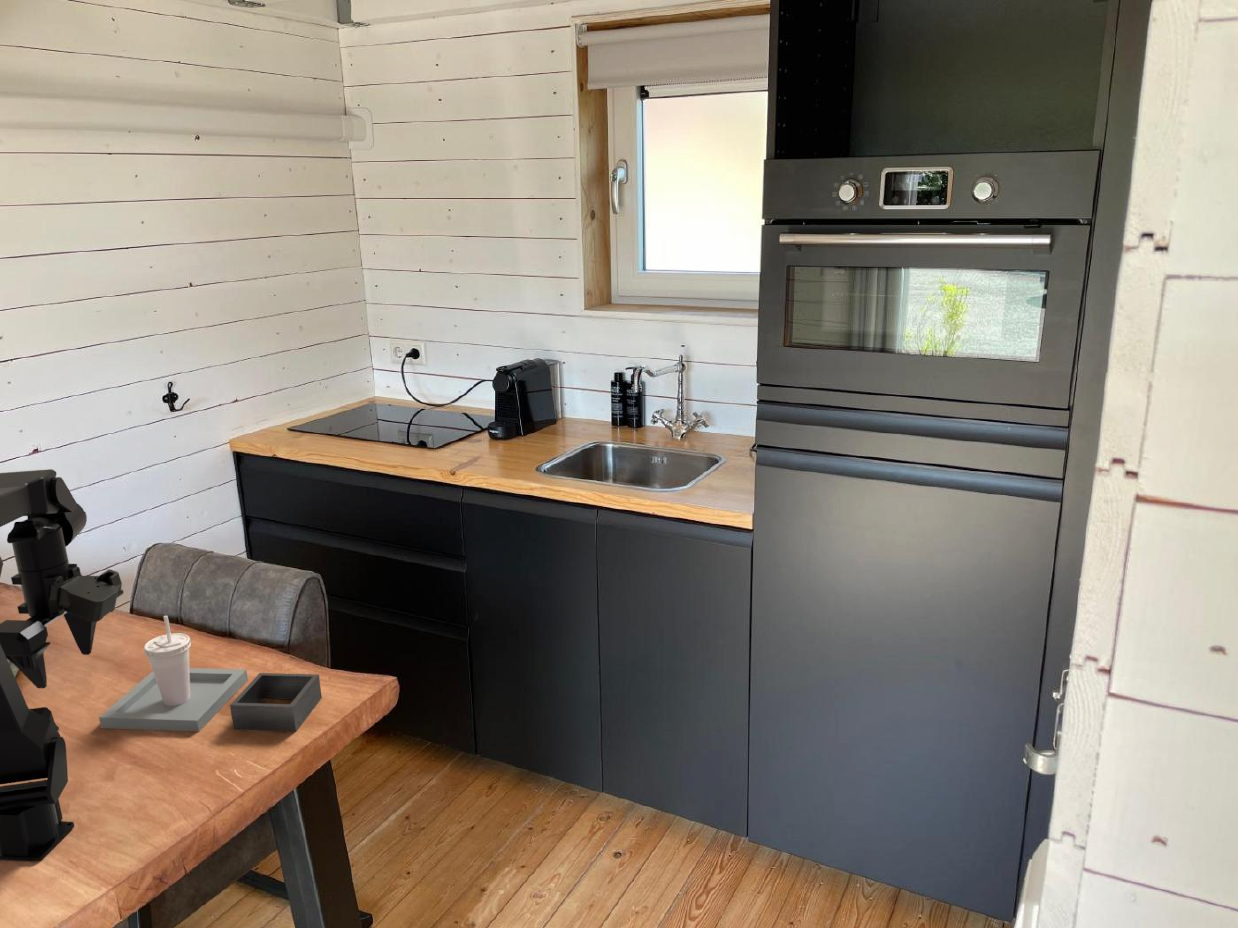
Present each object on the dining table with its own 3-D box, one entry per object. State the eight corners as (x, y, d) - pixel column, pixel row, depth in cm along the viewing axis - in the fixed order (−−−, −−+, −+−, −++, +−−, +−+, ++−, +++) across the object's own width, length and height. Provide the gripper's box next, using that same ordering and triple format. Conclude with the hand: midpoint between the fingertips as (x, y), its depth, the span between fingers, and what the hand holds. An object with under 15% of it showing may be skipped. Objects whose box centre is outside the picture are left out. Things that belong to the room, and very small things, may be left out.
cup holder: (296, 731, 134) (292, 706, 133) (233, 729, 135) (229, 705, 134) (321, 697, 143) (318, 674, 142) (263, 695, 144) (259, 672, 143)
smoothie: (182, 712, 138) (167, 627, 134) (144, 708, 140) (128, 624, 136) (208, 690, 144) (194, 608, 140) (171, 687, 146) (157, 605, 142)
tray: (199, 731, 134) (197, 720, 134) (101, 728, 136) (98, 717, 135) (247, 679, 149) (246, 669, 148) (158, 677, 150) (157, 667, 150)
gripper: (53, 594, 112) (77, 708, 116) (142, 538, 130) (160, 639, 134) (-34, 592, 113) (-7, 706, 117) (67, 537, 131) (87, 638, 135)
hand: (65, 670), depth 126 cm, fingers open, 9 cm apart
